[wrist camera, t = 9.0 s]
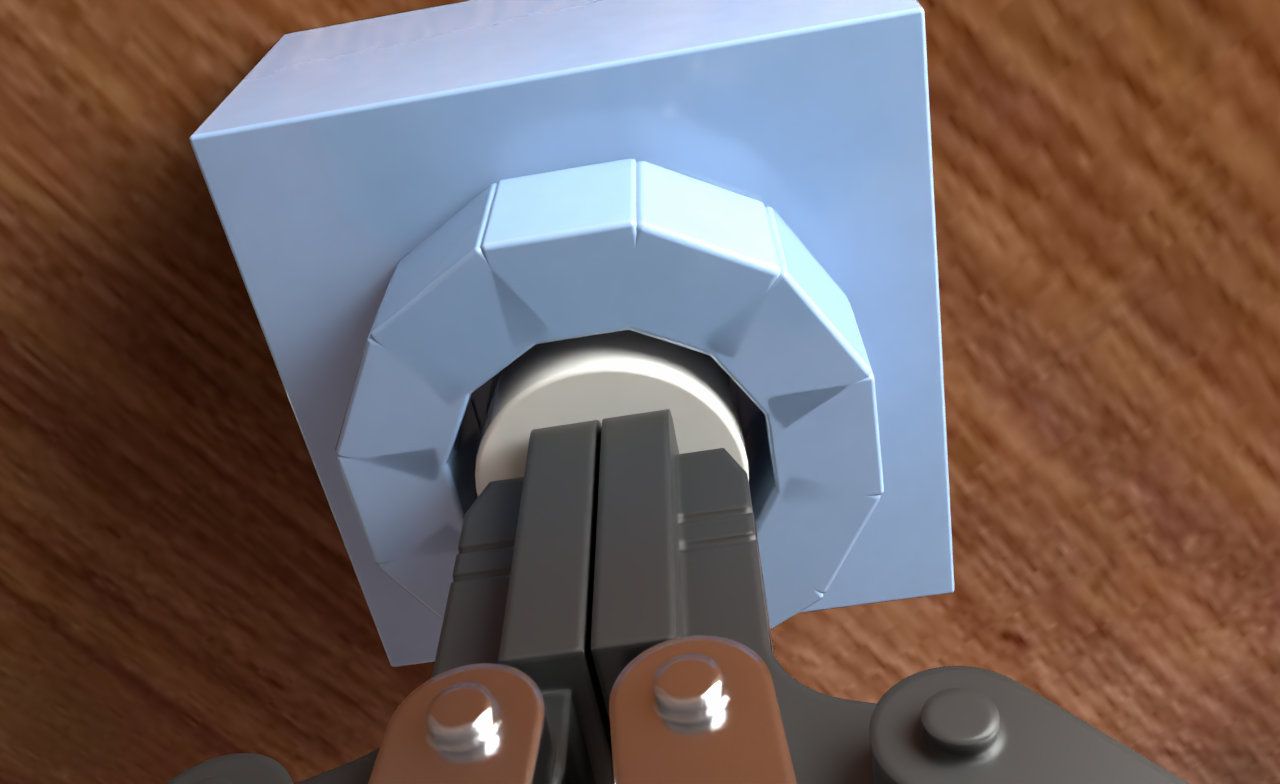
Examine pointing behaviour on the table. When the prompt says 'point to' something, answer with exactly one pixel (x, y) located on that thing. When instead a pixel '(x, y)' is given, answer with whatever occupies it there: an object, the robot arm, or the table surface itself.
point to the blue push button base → (602, 261)
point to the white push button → (607, 397)
